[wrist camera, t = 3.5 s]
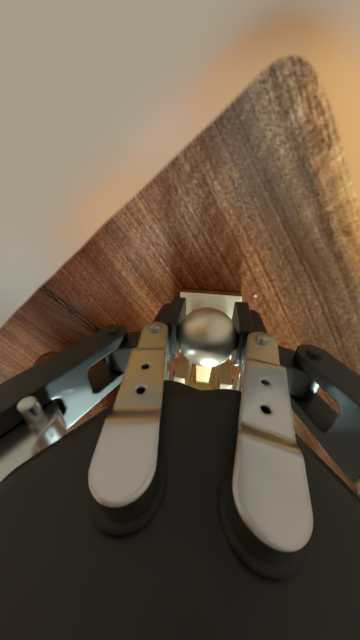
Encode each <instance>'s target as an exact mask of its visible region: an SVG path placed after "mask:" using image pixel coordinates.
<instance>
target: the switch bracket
mask: <svg viewBox="0 0 360 640" xmlns="http://www.w3.org/2000/svg"><path fill="white" fill-rule="evenodd" d="M180 297H183V298H186V316H187V315H188V314H189V313H190V312H192V311H194V310H196V309H199V308H204V307H210V308H215V309H218V310H220V311H222V312H224V313H225V314H227V315H228V316H229V317H230V319H231V320H232V316H233V310H234V304H235V302H242V293H235V292H220V291H206V290H192V289H181V291H180ZM230 360H231V356H230V358H229V359H227V360H226V361H225V362H223V363H222V364H220V365H217V366H216V384H215V389H232V390H234V380H232V376H231V363H230ZM191 367H192V362H190V361H189V360H188V359H187V358H186V357H185V356H184V355H183V353H182V352H181V350H180V356H179V360H178V363H177V367H176V371H175V372H173V374H172V380H171V381H176V382H180V383H183V384H185V385H188V384H189V378H190V372H191Z"/></svg>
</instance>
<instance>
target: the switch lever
mask: <svg viewBox="0 0 360 640" xmlns="http://www.w3.org/2000/svg"><path fill="white" fill-rule="evenodd" d="M177 337H178V345H179V348H180V350H181V352H182V353H183V355H184V356H185V357H186V358H187V359H188V360H189V361H190V362H192V363H194V364H196V366H194V365H193V366H192V372H191V380H190V386H191V387H193V388H196V389H199V390H214V380H215V368H212V367H213V366H217V365H220V364H222V363H223V362H225V361H226V360H227V359H229V358H230V356H231V355H232V354H233V352H234V350H235V348H236V344H237V330H236V327H235V325H234V323H233V321H232V320H231V319H230V317H229V316H228V315H227V314H225V313H224V312H222V311H220V310H218V309H215V308H210V307H204V308H199V309H196V310H194V311H192V312H190V313H189V314H188V315H187V316H186V317H185V318H184V319H183V320H182V322H181V324H180V326H179V329H178V335H177Z"/></svg>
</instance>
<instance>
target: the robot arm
mask: <svg viewBox="0 0 360 640" xmlns="http://www.w3.org/2000/svg"><path fill="white" fill-rule="evenodd" d="M185 317H186V298H183V297H175V298H174V300H173V302H172V304H171V303H167V304H165V305H163V306H162V308H161V309H160V311H159V313H158V314H157V316H156V318H155V320H154V321H153V322H150V323H147V324H145V325H144V326H143V328H142V331H140V332H131V333H127V328H126V327H125V326H123V325H110V326H107V327H105V328H103V329H101V330H99V331H97V332H96V333H94V334H92V335H90V336H88V337H86V338H84V339H83V340H81V341H79V342H77V343H75V344H73V345H72V346H70V347H68V348H66V349H64V350H62V351H60V352H59V353H57V354H55V355H53V356H51V357H49V358H47V359H46V360H44V361H42V362H40V363H38V364H36V365H35V366H33V367H31V368H29V369H27V370H25V371H23V372H22V373H20V374H18V375H16V376H14V377H12V378H11V379H9V380H7V381H5V382H3V383H1V384H0V640H360V375H358V374H357V373H355V372H354V371H353V370H351V369H350V368H349V367H347V366H346V365H344V364H343V363H342V362H340V361H339V360H337V359H336V358H335V357H333V356H332V355H331V354H329V353H328V352H326V351H325V350H323V349H321V348H319V347H316V346H312V345H300V346H298V347H297V349H296V351H293V350H290V349H286V348H283V347H281V346H278V342H277V340H276V339H275V338H274V337H273V336H272V335H270V334H267V331H266V329H265V326H264V324H263V321H262V319H261V316H260V314H258V313H257V312H256V311H255V310H249V307H248V303H247V302H235V304H234V310H233V316H232V321H233V323H234V325H235V327H236V330H237V344H236V348H235V350H234V352H233V358H234V365H235V366H240V372H239V377H238V383H237V390H232V389H214V390H199V389H196V388H193V387H191V386H188V385H185V384H183V383H180V382H176V381H169V361H170V359H171V357H172V358H176V356H177V353H178V349H179V345H178V337H177V335H178V329H179V326H180V324H181V322H182V320H183V319H184V318H185ZM104 357H105V358H106V362H107V363H106V364H105V365H103V366H102V367H101V368H99V369H98V370H96V371H95V372H94V373H92V374H91V375H89V376H88V375H87V374H88V370H89V369H90V367H91V366H93V365H94V364H95V363H97V362H98V361H100V360H101V359H103V358H104ZM120 383H121V385H120V388H119V391H118V394H117V397H116V400H115V403H113V404H112V405H110V406H109V407H107V408H106V409H104V410H103V411H101V412H100V413H98V414H96V415H95V416H93V417H92V418H90V419H89V420H87V421H86V422H84V423H83V424H81V425H80V426H78V427H77V428H75V429H74V430H72V431H71V432H69V433H68V434H66V435H65V433H66V430H67V429H68V428H69V427H70V426H71V425H73V424H74V423H75V422H76V421H77V420H78V419H80V418H81V417H82V416H83V415H84V414H85V413H86V412H88V411H89V410H90V409H91V408H92V407H93V406H95V405H96V404H97V403H98V402H99V401H100V400H102V399H103V398H104V397H105V396H106V395H107V394H108V393H110V392H111V391H112V390H113V389H114V388H115V387H117V386H118V385H119V384H120ZM319 387H321V388H322V389H323V390H324V391H325V392H327V393H328V394H329V395H330V396H331V397H332V398H333V399H334V400H335V401H336V402H337V404H338V406H339V408H340V414H339V415H338V414H337V413H336V412H335V411H334V410H333V409H332V408H331V407H330V406H329V405H328V404H327V403H326V402H325V401H324V400H323V399H322V398H321V397H320V396H319V395H318V394H317V393H316V392H317V390H318V388H319ZM292 409H293V411H294V412H295V413H296V414H297V416H298V417H299V418H300V419H301V421H302V422H303V423H304V424H305V426H306V427H307V428H308V429H309V430H310V432H311V433H312V434H313V435H314V437H315V438H316V439H317V440H318V442H319V443H320V444H321V445H322V447H323V448H324V449H325V450H326V451H327V453H328V454H329V455H330V456H331V458H332V459H333V460H334V461H335V463H336V464H337V465H338V466H339V467H340V469H341V470H342V471H343V472H344V474H345V475H346V476H347V477H348V479H349V480H350V481H351V482H352V484H353V485H354V486H355V488H356V493H357V495H356V494H355V493H354V492H353V491H352V490H351V489H350V488H349V487H348V486H347V485H346V484H345V483H344V482H343V481H342V480H341V479H340V478H339V477H338V476H337V475H336V474H335V473H334V472H333V471H332V470H331V468H330V467H329V466H328V465H327V464H326V463H325V462H324V461H323V460H322V459H321V458H320V457H319V456H318V455H317V454H316V453H315V452H314V451H313V450H312V449H311V448H310V447H309V446H308V445H307V444H306V443H305V442H304V441H303V440H302V439H301V438H300V437H299V436H298V435H297V434H296V433H295V430H294V423H293V415H292Z"/></svg>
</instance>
